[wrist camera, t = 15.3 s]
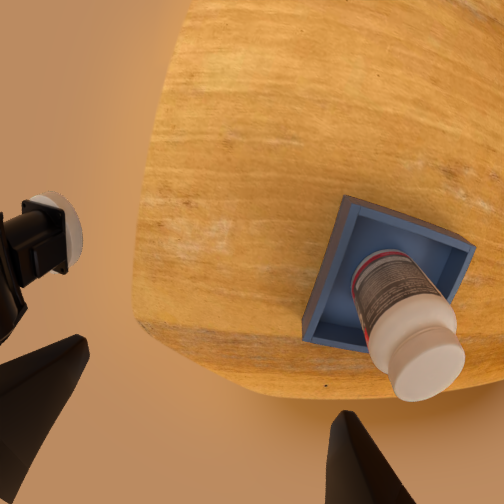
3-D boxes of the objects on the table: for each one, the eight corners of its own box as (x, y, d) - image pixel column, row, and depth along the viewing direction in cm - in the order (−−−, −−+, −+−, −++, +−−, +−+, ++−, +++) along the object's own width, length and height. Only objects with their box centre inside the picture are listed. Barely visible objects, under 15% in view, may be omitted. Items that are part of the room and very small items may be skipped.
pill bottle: (334, 291, 20) (356, 395, 11) (379, 232, 18) (441, 311, 9) (385, 321, 21) (421, 418, 12) (428, 270, 19) (493, 352, 10)
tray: (301, 319, 22) (301, 341, 20) (343, 194, 18) (351, 202, 16) (408, 340, 22) (417, 360, 19) (459, 234, 18) (476, 247, 15)
